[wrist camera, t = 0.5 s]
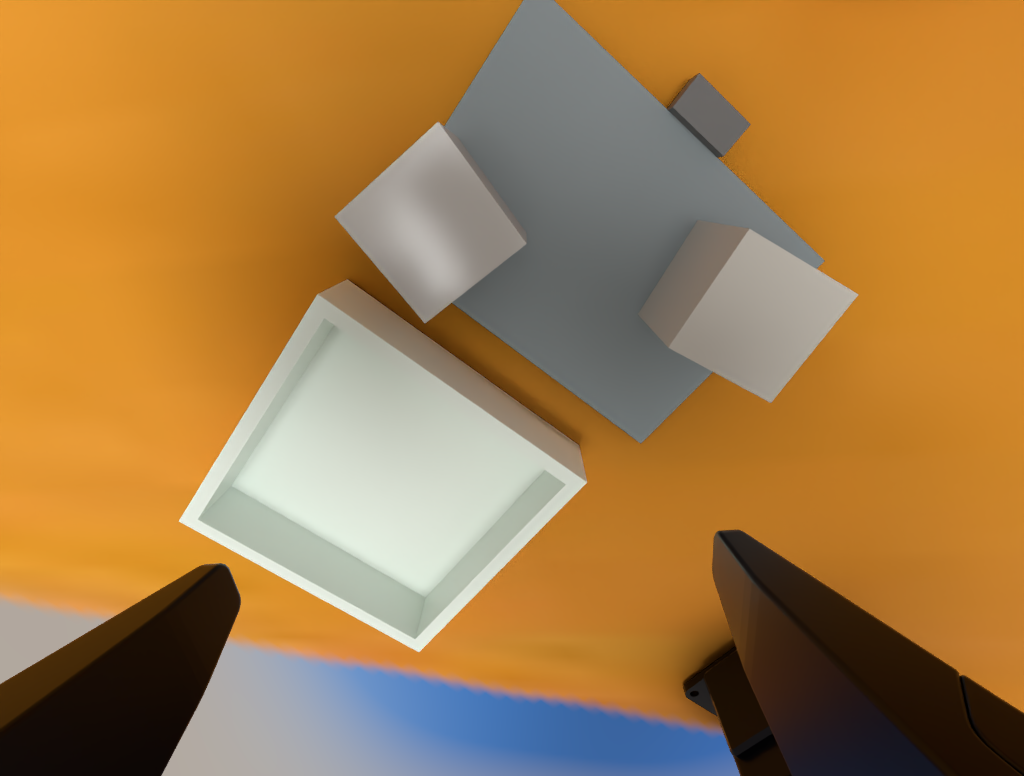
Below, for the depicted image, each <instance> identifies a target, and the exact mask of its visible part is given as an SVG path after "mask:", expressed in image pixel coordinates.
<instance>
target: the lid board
mask: <svg viewBox="0 0 1024 776" xmlns="http://www.w3.org/2000/svg"><path fill="white" fill-rule="evenodd" d="M750 125H751V124H750V123H749V122H748V121H747V120H746V119H745V118H744V117H743V116H742V115H741V114H740V113H739V112H738V111H737V110H736V109H735V108H734V107H733V106H732V105H731V104H730V103H729V102H728V101H727V100H726V99H725V98H724V97H723V96H722V95H721V94H720V93H719V92H718V91H717V90H716V89H715V88H714V87H713V86H712V85H711V84H710V83H709V82H708V81H707V80H706V79H705V78H704V77H703V76H702V75H701V74H700V73H699V74H697V75H696V76H694V77H693V78H692V79H690V80H689V81H688V82H687V84H686V85H685V86H684V88H683V89H682V90H681V91H680V93H679V94H678V95H677V97H676V98H675V99H674V100H673V102H672V103H671V104H670V106H669V107H668V108H667V109H666V108H665V107H664V106H663V105H662V104H661V103H660V102H659V101H658V100H657V99H656V98H655V97H654V96H653V95H652V94H651V93H650V92H649V91H648V90H646V89H645V88H644V87H643V86H642V85H641V84H640V83H639V82H638V81H637V80H636V79H635V78H634V77H633V76H632V75H631V74H630V73H629V72H628V71H627V70H626V69H625V68H624V67H623V66H622V65H621V64H619V63H618V62H617V61H616V60H615V59H614V58H613V57H612V56H611V55H610V54H609V53H608V52H607V51H606V50H605V49H604V48H603V47H602V46H601V45H600V44H599V43H598V42H597V41H596V40H595V39H593V38H592V37H591V36H590V35H589V34H588V33H587V32H586V31H585V30H584V29H583V28H582V27H581V26H580V25H579V24H578V23H577V22H576V21H575V20H574V19H573V18H572V17H571V16H570V15H569V14H567V13H566V12H565V11H564V10H563V9H562V8H561V7H560V6H559V5H558V4H557V3H556V2H555V1H554V0H523V2H522V4H521V5H520V7H519V8H518V10H517V12H516V13H515V15H514V16H513V18H512V19H511V21H510V23H509V24H508V26H507V27H506V29H505V31H504V32H503V34H502V35H501V37H500V39H499V40H498V42H497V43H496V45H495V47H494V48H493V50H492V51H491V53H490V54H489V56H488V58H487V59H486V61H485V62H484V64H483V66H482V67H481V69H480V70H479V72H478V74H477V75H476V77H475V78H474V80H473V82H472V83H471V85H470V86H469V88H468V89H467V91H466V93H465V94H464V96H463V97H462V99H461V101H460V102H459V104H458V105H457V107H456V109H455V110H454V112H453V113H452V115H451V117H450V118H449V120H448V121H447V123H446V125H445V126H444V127H446V128H447V129H448V130H449V131H451V132H452V133H453V134H454V135H456V136H457V137H458V138H459V139H460V141H461V142H462V144H463V145H464V146H465V148H466V149H467V151H468V152H469V153H470V155H471V156H472V158H473V159H474V160H475V162H476V163H477V164H478V166H479V167H480V169H481V170H482V171H483V173H484V174H485V176H486V177H487V178H488V180H489V181H490V183H491V184H492V185H493V187H494V188H495V190H496V191H497V192H498V194H499V195H500V197H501V198H502V199H503V201H504V202H505V203H506V205H507V206H508V208H509V209H510V210H511V212H512V213H513V215H514V216H515V217H516V219H517V220H518V222H519V223H520V224H521V226H522V227H523V229H524V230H525V231H526V238H527V244H526V245H525V246H523V247H522V248H521V249H519V250H518V251H517V252H516V253H514V254H513V255H512V256H511V257H509V258H508V259H507V260H505V261H504V262H503V263H502V264H500V265H499V266H498V267H497V268H495V269H494V270H493V271H491V272H490V273H489V274H488V275H486V276H485V277H484V278H483V279H481V280H480V281H479V282H477V283H476V284H475V285H474V286H472V287H471V288H470V289H469V290H467V291H466V292H465V293H463V294H462V295H461V296H460V297H458V298H457V299H456V300H455V301H453V302H452V303H453V304H454V305H455V306H457V307H458V308H459V309H461V310H462V311H463V312H465V313H466V314H467V315H469V316H470V317H471V318H473V319H474V320H475V321H477V322H478V323H479V324H481V325H482V326H484V327H485V328H486V329H488V330H489V331H490V332H492V333H493V334H494V335H496V336H497V337H498V338H500V339H501V340H502V341H504V342H505V343H506V344H508V345H509V346H510V347H512V348H513V349H514V350H516V351H517V352H518V353H520V354H521V355H522V356H524V357H525V358H526V359H528V360H529V361H531V362H532V363H533V364H535V365H536V366H537V367H539V368H540V369H541V370H543V371H544V372H545V373H547V374H548V375H549V376H551V377H552V378H553V379H555V380H556V381H557V382H559V383H560V384H561V385H563V386H564V387H565V388H567V389H568V390H569V391H571V392H572V393H574V394H575V395H576V396H578V397H579V398H580V399H582V400H583V401H584V402H586V403H587V404H588V405H590V406H591V407H592V408H594V409H595V410H596V411H598V412H599V413H600V414H602V415H603V416H604V417H606V418H607V419H608V420H610V421H611V422H612V423H614V424H615V425H616V426H618V427H619V428H621V429H622V430H623V431H625V432H626V433H627V434H629V435H630V436H631V437H633V438H634V439H635V440H637V441H638V442H639V443H642V442H643V441H644V440H645V439H646V438H647V437H648V436H649V435H650V434H651V433H652V432H653V431H654V430H655V429H656V428H657V427H658V426H659V425H660V424H661V423H662V422H663V421H664V420H665V419H666V418H667V417H668V416H669V415H670V414H671V413H672V412H673V411H674V410H675V409H676V408H677V407H678V406H679V405H680V404H681V403H682V402H683V401H684V400H685V399H686V398H687V397H688V396H689V395H690V394H691V393H692V392H693V391H694V390H695V389H696V388H697V387H698V386H699V385H700V384H701V383H702V382H703V381H704V380H705V379H706V378H707V377H708V376H709V375H710V374H711V373H712V371H711V370H709V369H707V368H705V367H703V366H701V365H699V364H698V363H696V362H694V361H692V360H690V359H688V358H686V357H685V356H683V355H681V354H679V353H677V352H675V351H673V350H672V349H670V348H668V347H667V346H666V345H665V344H664V342H663V341H662V340H661V339H660V338H659V337H658V336H657V335H656V334H655V333H654V332H653V330H652V329H651V328H650V327H649V326H648V325H647V324H646V323H645V322H644V321H643V320H642V318H641V317H640V316H639V315H638V313H639V312H640V310H641V308H642V307H643V305H644V304H645V302H646V301H647V299H648V297H649V296H650V294H651V293H652V291H653V290H654V288H655V286H656V285H657V283H658V282H659V280H660V279H661V277H662V276H663V274H664V272H665V271H666V269H667V268H668V266H669V265H670V263H671V261H672V260H673V258H674V257H675V255H676V254H677V252H678V250H679V249H680V247H681V246H682V244H683V243H684V241H685V239H686V238H687V236H688V235H689V233H690V232H691V230H692V228H693V227H694V225H695V224H696V222H697V221H698V220H700V221H706V222H712V223H718V224H724V225H730V226H736V227H742V228H748V229H751V230H753V231H754V232H756V233H757V234H759V235H761V236H762V237H764V238H766V239H767V240H769V241H771V242H772V243H774V244H776V245H777V246H779V247H781V248H782V249H784V250H786V251H787V252H789V253H791V254H792V255H794V256H796V257H797V258H799V259H801V260H802V261H804V262H806V263H807V264H809V265H811V266H812V267H814V268H815V269H817V268H818V267H819V266H820V265H821V264H822V263H823V262H824V260H823V259H822V258H821V257H820V256H819V255H818V254H817V253H816V252H815V251H814V250H813V249H812V248H811V247H810V246H809V245H808V244H807V243H806V242H804V241H803V240H802V239H801V238H800V237H799V236H798V235H797V234H796V233H795V232H794V231H793V230H792V229H791V228H790V227H789V226H788V225H787V224H786V223H785V222H784V221H783V220H782V219H781V218H780V217H779V216H777V215H776V214H775V213H774V212H773V211H772V210H771V209H770V208H769V207H768V206H767V205H766V204H765V203H764V202H763V201H762V200H761V199H760V198H759V197H758V196H757V195H756V194H755V193H754V192H753V191H751V190H750V189H749V188H748V187H747V186H746V185H745V184H744V183H743V182H742V181H741V180H740V179H739V178H738V177H737V176H736V175H735V174H734V173H733V172H732V171H731V170H730V169H729V168H728V167H727V166H725V165H724V164H723V163H722V162H721V161H720V160H719V159H718V158H717V157H722V156H724V155H725V154H726V153H727V152H728V150H729V149H730V148H731V147H732V146H733V145H734V143H735V142H736V141H737V140H738V139H739V138H740V136H741V135H742V134H743V133H744V132H745V130H746V129H747V128H748V127H749V126H750Z"/></svg>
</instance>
